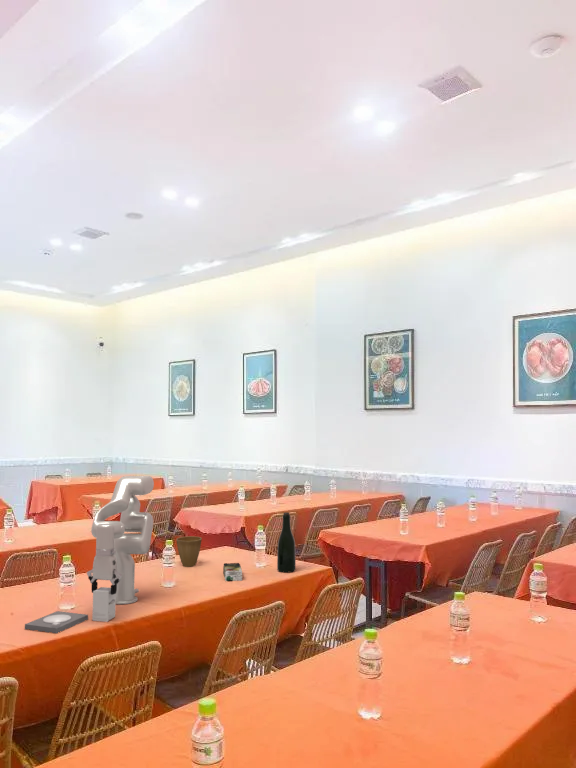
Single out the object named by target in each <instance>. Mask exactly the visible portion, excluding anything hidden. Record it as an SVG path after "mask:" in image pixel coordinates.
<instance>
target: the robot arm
mask: <svg viewBox="0 0 576 768" xmlns="http://www.w3.org/2000/svg"><path fill="white" fill-rule="evenodd" d="M154 486H155V482H154V479H153V477H152V476H150V475H125V476H121V477H120V478H119V479H118V480H117V482H116V484H115V486H114V489H113V492H112V495H111V499H110V501H108V503H106V504H104V505H103V506H102V507H101V508H100V509H99V510H98V511H97V512H96V514H95V517H94V519H93V522H92V525H91V529H90V530H91V531H90V532H91V535H92V537H93V538H95V539H96V540H95V542H96V543H95V544H96V545H95V556H94V558H93V562H92V569H91V570H89V571H87V572H86V575H87V577H88V581H90V584H91V593H92V594H93V591H95V590H97V589H98V581H99V580H101V581H109V582H110V583H111V585H110V588H111V595H113V594H116V600H115V605H128V604H134V603H135V602H137V601H138V598H139V597H138V596H136V594H138V593H139V591H140V589H139V588H135V568H136V565H135V563H136V562H135V560H134V558H133V556H132V555H145V554H147V553H149V551H150V547H151V542H152V534H153V528H154V527H153V526H154V518H153V515H152V514H151V513H150V512H141V501H140V500H139V498H138V497H137V496H145V495H148V494H150V493H152V492H153V489H154ZM118 514H120V519H119V520H107V519H108V518H110V517H112V516H116V515H118Z"/></svg>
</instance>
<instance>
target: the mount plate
mask: <svg viewBox="0 0 576 768" xmlns="http://www.w3.org/2000/svg"><path fill="white" fill-rule="evenodd" d="M85 620H86V621H88V620H89V614H86V613H85V614H84V613H78V612H77V613H76V612H69V611H59V610H57V611H53V612H52V613H50V614H47V615H44V616H42V617H40V618H37V619H34V620H32V621H29V622H27V623H24V630H27V629H30V630H29V631H34V630H38V631H37V632H42V631H45V632H44V633H49V632H52V633H51V634H58V632H59V633H61V632H63V631H65V629H66V630H67V629H69V628H72V627H75V626H77V625H79V624H81V623H83V622H86V621H85ZM76 624H77V625H76ZM60 631H61V632H60Z"/></svg>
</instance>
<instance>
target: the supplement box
mask: <svg viewBox="0 0 576 768" xmlns="http://www.w3.org/2000/svg"><path fill="white" fill-rule="evenodd" d="M115 600H116V594H113V595H111V587H107V586H105V587H102V586H101V587H99V588H97V590H95V591H93V593H92V613H91V614H92V615H91V617H92V621H94V622H107V623H108V622H109V621H110V620H112V619H113V618H115V617H116V604H115Z"/></svg>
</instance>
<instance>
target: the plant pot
mask: <svg viewBox="0 0 576 768" xmlns="http://www.w3.org/2000/svg"><path fill="white" fill-rule="evenodd" d="M201 546H202V537H200V536H192V535H191V536H181V537H177V538H176V547H177V551H178V555H179V559H180V562H181V565H182V566H183V567H185V568H192V567H195V566H196V565H197V562H198V559H199V556H200V551H201Z"/></svg>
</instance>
